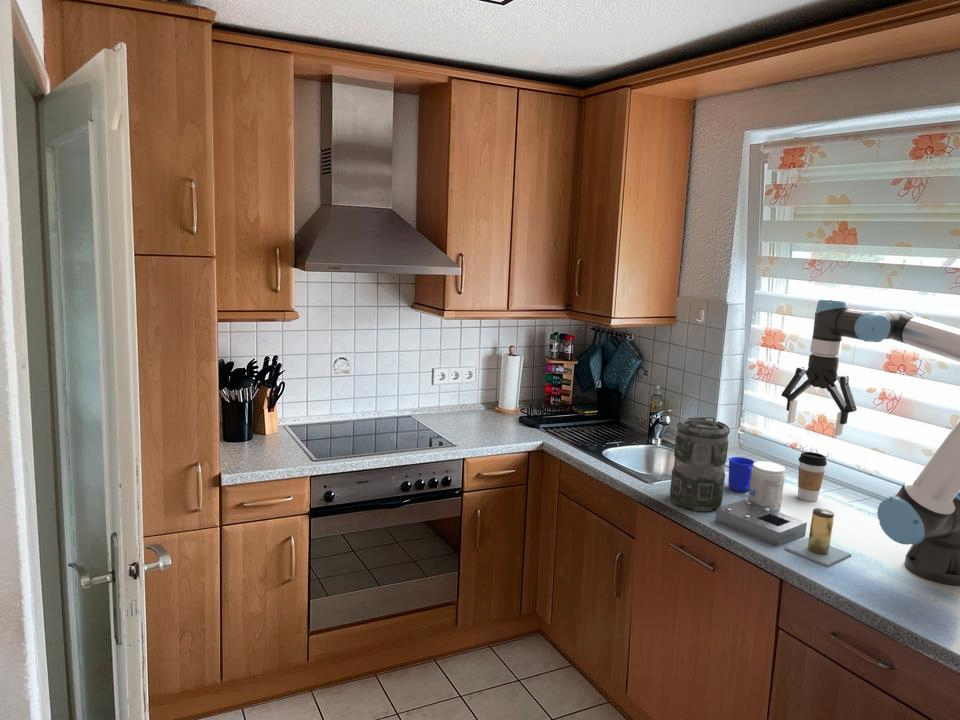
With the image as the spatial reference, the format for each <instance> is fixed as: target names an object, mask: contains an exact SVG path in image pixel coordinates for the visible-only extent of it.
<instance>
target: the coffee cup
mask: <svg viewBox="0 0 960 720" xmlns="http://www.w3.org/2000/svg"><path fill="white" fill-rule="evenodd" d="M798 462H799V466H798V476H797V477H798V480H797V484H798V488H797V497H798V498H799V499H800V500H802V501H805V502H806V501H807V502H817V501H818V499H819V496H820V495H819V494H820V491H821V487H822V483H823V479H824V476H825V471H826V470H825V469H826V466H827V464H828V463H827V456H825V455H824V454H821V453H818V452H812V451H803V452H801V453H800V456H799V457H798Z"/></svg>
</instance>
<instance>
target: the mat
mask: <svg viewBox="0 0 960 720" xmlns="http://www.w3.org/2000/svg"><path fill="white" fill-rule="evenodd" d="M808 541H809V537H807V538H804V539H802V540H799V541H797V542H794V543H792V544H790V545H787V546H785V547H784V550H786V551H788V552H791V553H793V554H795V555H798V556H800V557H803V558H805V559H808V560H810V561H813V562H815V563H818V564H820V565H823V566H825V567H831V566H833V565H836V564H837V563H840V562H841V561H843V560H845V559H848V558H850V557H852V553H849V552H848V551H845V550H842V549H839V548H837V547H834V546H832V545H830V547H829V553H828V554H827V555H819V554H815V553H812V552H810V551H809V550H808V549H807V548H808Z"/></svg>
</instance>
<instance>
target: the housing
mask: <svg viewBox="0 0 960 720" xmlns="http://www.w3.org/2000/svg"><path fill="white" fill-rule="evenodd" d="M715 522H716V523H719V524H721V525H724V526H727V527H729V528H731V529H733V530H736V529H737V531H738V530H740V531H739V532H741V531H742V533H743V532H745V533H744V534H746V533H747V535H748V534H749V535H748V536H751V535H752V536H751V537H753V536H754V537H753V538H756V539H758V538H759V540H761V541H763V540H764V541H763V542H765V543H768V542H769V543H768V544H770V543H771V545H773V546H776V547H780V546H782V545H785V544H788V543H789V542H790V543H791V542H792V541H793V542H794V541H795V540H798V539H800V538H803V537H805V536H806V532H807V526H808V521H805V520H802V519H799V518H797V517H794V516H791V515H789V514H786V513H783V512H781V511H780V512H777V511H775V510H772V509H769V508H767V507H764V506H761V505H758V504H756V503H753V502H750V501H748V499H743V500H740V501H736V502H732V503H730V504H726V505H723V506H720V507H718V508H716V514H715Z"/></svg>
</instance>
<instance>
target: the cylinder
mask: <svg viewBox="0 0 960 720" xmlns="http://www.w3.org/2000/svg"><path fill="white" fill-rule="evenodd" d="M834 519H835V513H834V512H833V511H831V510H829V509H825V508H821V507H820V508H819V507H818V508H817V507H816V508H813V509H812V514H811V521H810V526H809V527H810V529H809V535H808V536H809V537H808V538H809V541H808V548H807V549H808V550H809V551H810V552H812V553H815V554H819V555H827V554H828V553H829V547H830V546H831V539H832V534H833V526H834Z"/></svg>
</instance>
